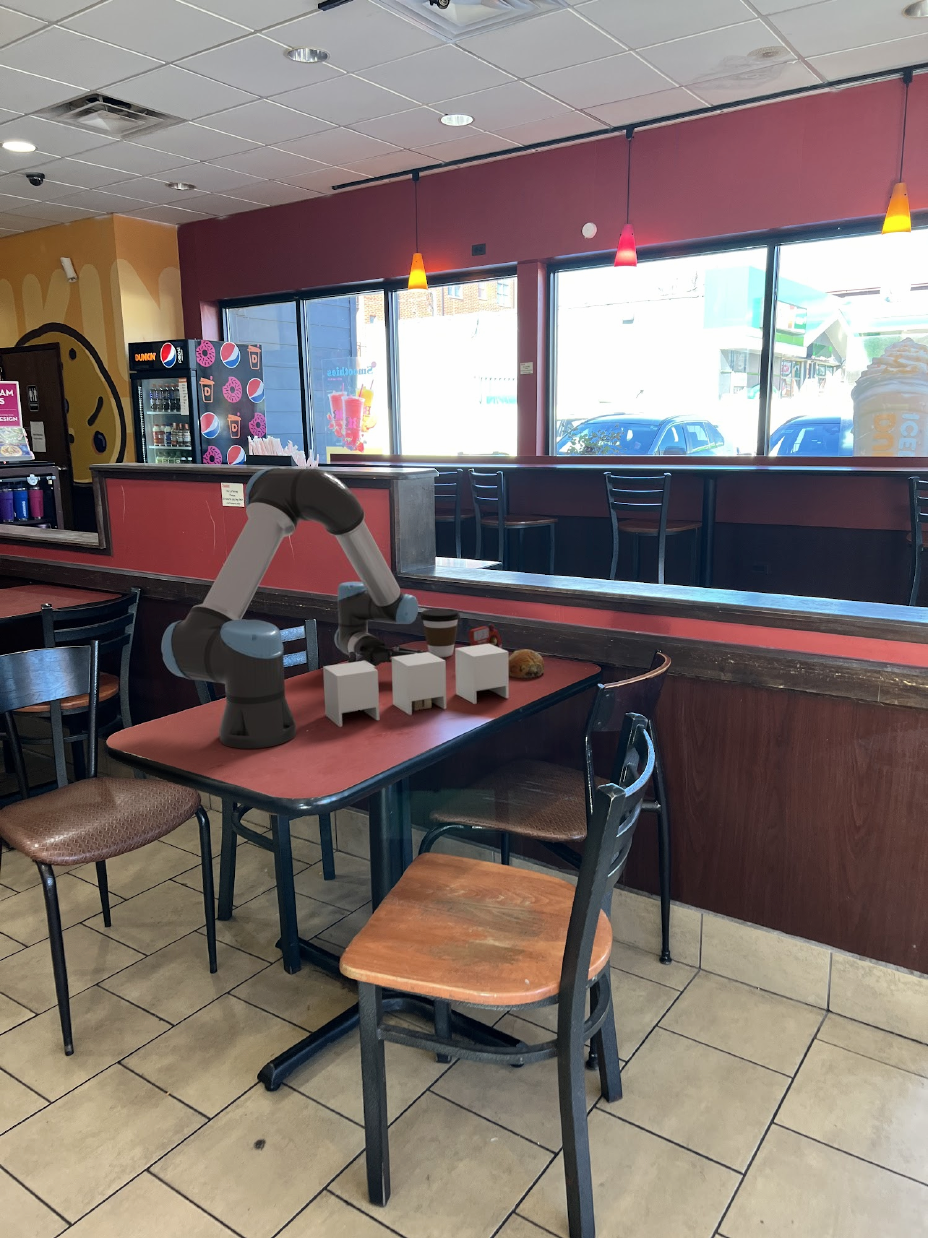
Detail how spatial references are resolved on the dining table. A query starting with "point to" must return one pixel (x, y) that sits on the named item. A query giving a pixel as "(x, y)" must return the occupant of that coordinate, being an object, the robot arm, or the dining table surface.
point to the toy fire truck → (485, 636)
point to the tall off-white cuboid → (418, 680)
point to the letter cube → (421, 704)
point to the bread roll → (525, 664)
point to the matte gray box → (481, 671)
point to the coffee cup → (440, 630)
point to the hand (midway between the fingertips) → (401, 668)
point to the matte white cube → (350, 690)
